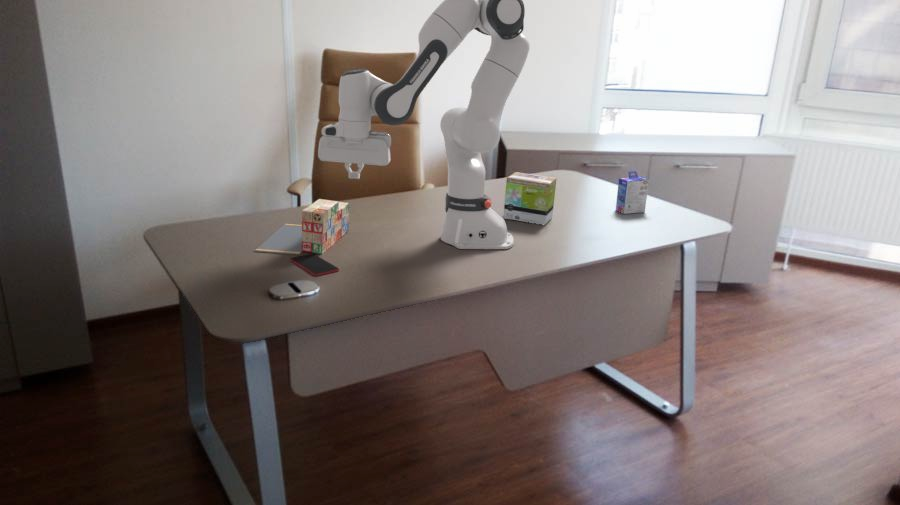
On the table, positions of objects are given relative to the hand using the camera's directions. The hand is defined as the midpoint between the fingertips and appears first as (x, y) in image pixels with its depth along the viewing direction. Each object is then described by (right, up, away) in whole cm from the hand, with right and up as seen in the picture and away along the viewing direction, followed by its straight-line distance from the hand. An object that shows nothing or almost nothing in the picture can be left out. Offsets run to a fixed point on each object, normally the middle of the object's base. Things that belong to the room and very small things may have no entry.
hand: (354, 178), depth 185 cm
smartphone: (-9, -25, -10) cm, 29 cm away
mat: (-20, -17, +9) cm, 28 cm away
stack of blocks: (-9, -18, +8) cm, 22 cm away
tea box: (+54, -10, +37) cm, 66 cm away
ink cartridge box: (+93, -6, +51) cm, 106 cm away
